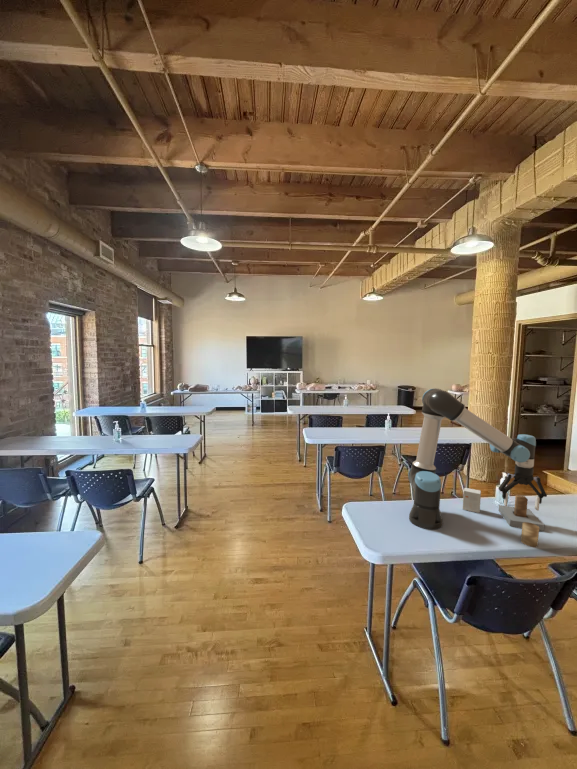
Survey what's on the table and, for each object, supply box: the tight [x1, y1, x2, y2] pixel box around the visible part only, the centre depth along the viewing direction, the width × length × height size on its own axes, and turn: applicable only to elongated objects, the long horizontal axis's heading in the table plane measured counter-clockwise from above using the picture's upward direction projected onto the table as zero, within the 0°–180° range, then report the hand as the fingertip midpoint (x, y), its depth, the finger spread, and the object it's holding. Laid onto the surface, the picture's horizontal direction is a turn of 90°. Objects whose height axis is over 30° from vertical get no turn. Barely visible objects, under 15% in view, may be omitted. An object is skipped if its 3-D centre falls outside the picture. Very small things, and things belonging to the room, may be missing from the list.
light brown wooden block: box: [520, 522, 540, 548], centre depth 148 cm, size 6×6×8 cm
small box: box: [462, 487, 482, 514], centre depth 180 cm, size 8×6×10 cm
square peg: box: [514, 494, 529, 517], centre depth 169 cm, size 4×4×12 cm
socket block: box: [498, 504, 545, 532], centre depth 170 cm, size 14×18×3 cm
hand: (520, 507), depth 169 cm, fingers open, 13 cm apart
